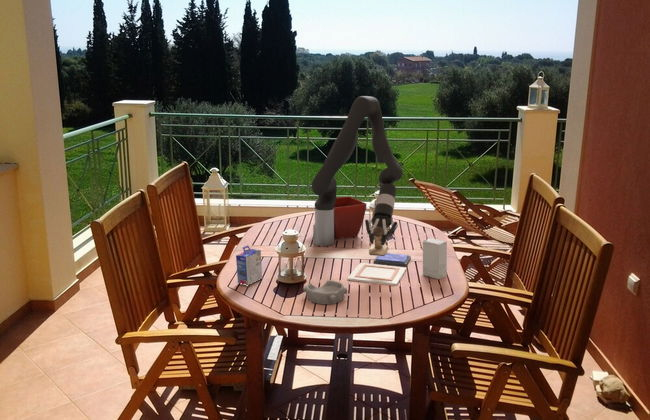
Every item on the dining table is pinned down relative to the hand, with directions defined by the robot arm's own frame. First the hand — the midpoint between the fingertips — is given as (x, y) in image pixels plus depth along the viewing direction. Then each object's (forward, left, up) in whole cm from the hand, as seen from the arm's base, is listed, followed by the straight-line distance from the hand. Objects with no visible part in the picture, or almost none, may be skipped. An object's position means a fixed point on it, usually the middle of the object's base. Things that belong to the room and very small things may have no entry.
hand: (377, 243), depth 252 cm
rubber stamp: (0, +2, -5) cm, 5 cm away
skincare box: (+22, +8, -14) cm, 27 cm away
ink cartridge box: (-46, -22, -14) cm, 53 cm away
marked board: (0, +2, -14) cm, 14 cm away
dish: (-12, -29, -14) cm, 34 cm away
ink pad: (+2, +21, -14) cm, 25 cm away
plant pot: (-31, +53, -14) cm, 63 cm away
